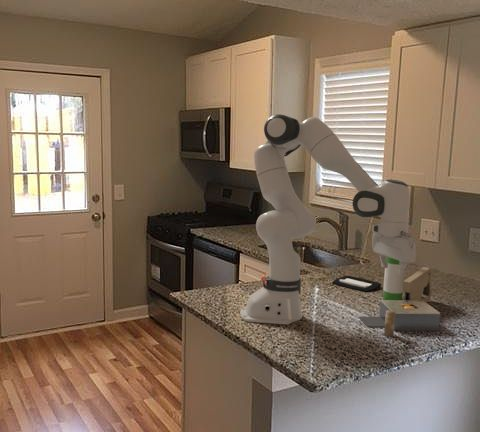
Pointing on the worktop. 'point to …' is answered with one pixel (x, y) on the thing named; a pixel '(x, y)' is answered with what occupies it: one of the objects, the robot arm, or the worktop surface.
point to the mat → (373, 321)
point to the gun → (418, 285)
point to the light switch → (357, 284)
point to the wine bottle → (393, 281)
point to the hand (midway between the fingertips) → (392, 270)
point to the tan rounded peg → (389, 323)
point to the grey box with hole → (411, 315)
